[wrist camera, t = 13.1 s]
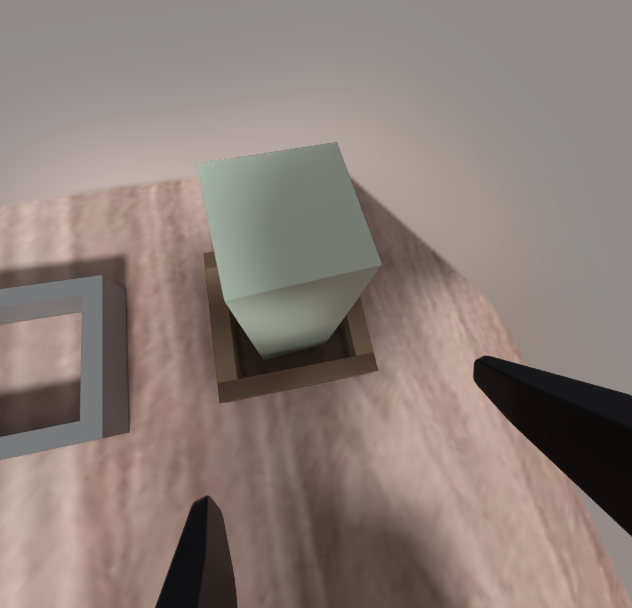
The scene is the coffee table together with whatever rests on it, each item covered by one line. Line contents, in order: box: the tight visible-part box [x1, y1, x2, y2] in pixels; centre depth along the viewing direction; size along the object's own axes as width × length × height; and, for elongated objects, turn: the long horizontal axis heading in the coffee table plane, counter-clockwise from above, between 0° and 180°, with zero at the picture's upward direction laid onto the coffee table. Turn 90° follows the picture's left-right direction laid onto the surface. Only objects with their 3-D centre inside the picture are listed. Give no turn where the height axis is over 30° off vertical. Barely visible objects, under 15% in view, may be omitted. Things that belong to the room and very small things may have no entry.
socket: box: [0, 275, 129, 460], centre depth 16 cm, size 8×8×2 cm
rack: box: [204, 252, 378, 403], centre depth 18 cm, size 8×8×2 cm
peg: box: [196, 142, 382, 360], centre depth 13 cm, size 4×4×12 cm
